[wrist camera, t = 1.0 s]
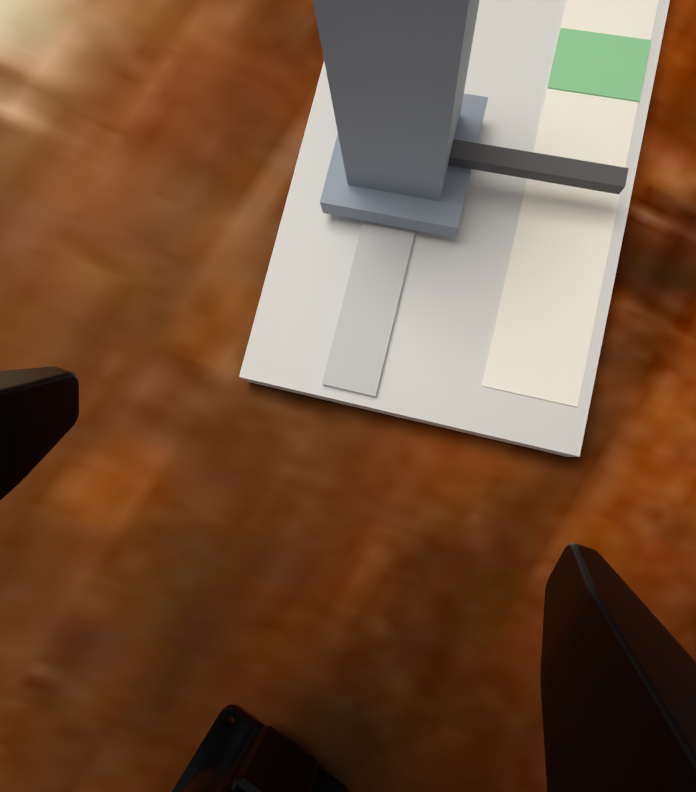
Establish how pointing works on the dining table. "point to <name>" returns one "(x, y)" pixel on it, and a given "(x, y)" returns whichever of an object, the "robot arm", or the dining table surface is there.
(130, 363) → the dining table surface
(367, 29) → the tuning slider
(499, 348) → the gauge board
